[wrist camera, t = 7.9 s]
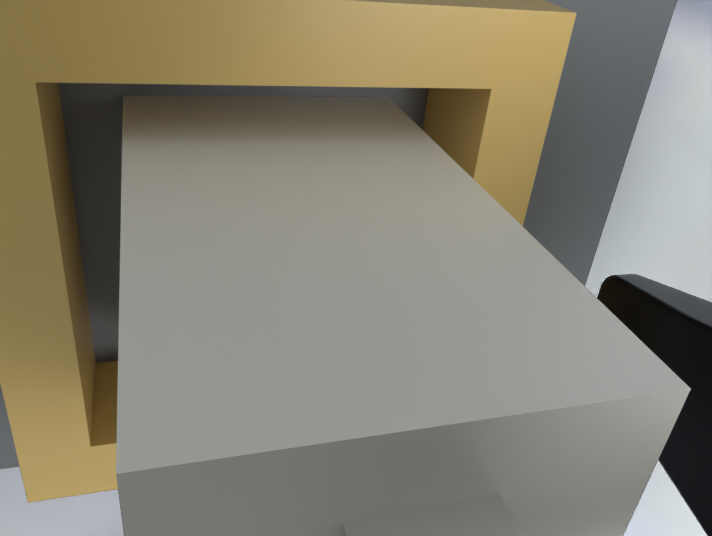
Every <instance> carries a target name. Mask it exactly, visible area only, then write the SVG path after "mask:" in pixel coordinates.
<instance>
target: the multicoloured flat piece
mask: <svg viewBox="0 0 712 536" xmlns="http://www.w3.org/2000/svg"><path fill="white" fill-rule="evenodd" d="M676 3H677V0H0V469H4V468H11V467H19V466H20V470H21V474H22V478H23V483H24V487H25V491H26V496H27V500H28V503H29V502H35V501H42V500H48V499H55V498H62V497H68V496H75V495H81V494H88V493H95V492H101V491H108V490H114V489H118V485H117V478H116V445H117V391H118V338H119V284H120V230H121V176H122V122H123V96H280V97H389V98H390V99H391V100H392V101H393V102H394V103H395V104H396V105H397V106H398V107H399V108H400V109H401V110H402V111H403V112H404V113H405V114H406V115H407V116H408V117H409V118H411V119H412V120H413V121H414V122H415V123H416V124H417V125H418V126H419V127H420V128H421V129H422V130H423V131H424V132H425V133H426V134H427V135H428V136H429V137H430V138H431V139H432V140H433V141H434V142H435V143H436V144H438V145H439V146H440V147H441V148H442V149H443V150H444V151H445V152H446V153H447V154H448V155H449V156H450V157H451V158H452V159H453V160H454V161H455V162H456V163H457V164H458V165H459V166H460V167H461V168H462V169H463V170H464V171H466V172H467V173H468V174H469V175H470V176H471V177H472V178H473V179H474V180H475V181H476V182H477V183H478V184H479V185H480V186H481V187H482V188H483V189H484V190H485V191H486V192H487V193H488V194H489V195H490V196H491V197H492V198H494V199H495V200H496V201H497V202H498V203H499V204H500V205H501V206H502V207H503V208H504V209H505V210H506V211H507V212H508V213H509V214H510V215H511V216H512V217H513V218H514V219H515V220H516V221H517V222H518V223H519V224H521V225H522V226H523V227H524V228H525V229H526V230H527V231H528V232H529V233H530V234H531V235H532V236H533V237H534V238H535V239H536V240H537V241H538V242H539V243H540V244H541V245H542V246H543V247H544V248H545V249H546V250H547V251H549V252H550V253H551V254H552V255H553V256H554V257H555V258H556V259H557V260H558V261H559V262H560V263H561V264H562V265H563V266H564V267H565V268H566V269H567V270H568V271H569V272H570V273H571V274H572V275H573V276H574V277H575V278H577V279H578V280H579V281H580V282H581V283H582V284H583V285H584V286H585V284H586V281H587V277H588V274H589V271H590V268H591V265H592V262H593V259H594V256H595V253H596V250H597V247H598V243H599V240H600V237H601V234H602V231H603V228H604V225H605V222H606V219H607V216H608V213H609V210H610V206H611V203H612V200H613V197H614V194H615V191H616V188H617V185H618V182H619V179H620V176H621V172H622V169H623V166H624V163H625V160H626V157H627V154H628V151H629V148H630V145H631V142H632V139H633V135H634V132H635V129H636V126H637V123H638V120H639V117H640V114H641V111H642V108H643V105H644V101H645V98H646V95H647V92H648V89H649V86H650V83H651V80H652V77H653V74H654V71H655V68H656V64H657V61H658V58H659V55H660V52H661V49H662V46H663V43H664V40H665V37H666V34H667V30H668V27H669V24H670V21H671V18H672V15H673V12H674V9H675V6H676Z"/></svg>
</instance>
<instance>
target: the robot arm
mask: <svg viewBox="0 0 712 536" xmlns="http://www.w3.org/2000/svg"><path fill="white" fill-rule="evenodd" d="M597 299H598V300H599V301H600V302H601V303H602V304H604V305H605V306H606V307H607V308H608V309H609V310H610V311H611V312H612V313H613V314H614V315H615V316H616V317H617V318H618V319H619V320H620V321H621V322H622V323H623V324H624V325H625V326H626V327H627V328H628V329H629V330H630V331H632V332H633V333H634V334H635V335H636V336H637V337H638V338H639V339H640V340H641V341H642V342H643V343H644V344H645V345H646V346H647V347H648V348H649V349H650V350H651V351H652V352H653V353H654V354H655V355H656V356H657V357H659V358H660V359H661V360H662V361H663V362H664V363H665V364H666V365H667V366H668V367H669V368H670V369H671V370H672V371H673V372H674V373H675V374H676V375H677V376H678V377H679V378H680V379H681V380H682V381H683V382H684V383H685V384H687V385H688V386H689V387H690V388H691V390H690V392H689V394H688V396H687V398H686V401H685V403H684V405H683V407H682V409H681V411H680V414H679V416H678V418H677V420H676V422H675V424H674V427H673V429H672V431H671V433H670V435H669V437H668V440H667V442H666V444H665V446H664V448H663V450H662V453H661V455H660V457H659V459H658V460H659V462H660V463H661V465H662V466H663V468H664V470H665V471H666V473H667V474H668V476H669V477H670V479H671V480H672V482H673V483H674V485H675V486H676V488H677V490H678V491H679V493H680V494H681V496H682V497H683V499H684V500H685V502H686V503H687V505H688V506H689V508H690V510H691V511H692V513H693V514H694V516H695V517H696V519H697V520H698V522H699V523H700V525H701V526H702V528H703V530H704V531H705V533H706V534H707V536H712V302H709V301H706V300H704V299H701V298H698V297H696V296H693V295H690V294H688V293H685V292H682V291H680V290H677V289H674V288H672V287H669V286H666V285H664V284H661V283H658V282H656V281H653V280H650V279H648V278H645V277H642V276H640V275H636V274H624V275H612V276H610V277H608V278H606V279H605V280H604V282H603V283H602V285H601V288H600V291H599V294H598V297H597Z"/></svg>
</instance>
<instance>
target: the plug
mask: <svg viewBox="0 0 712 536" xmlns="http://www.w3.org/2000/svg"><path fill="white" fill-rule="evenodd" d="M690 390H691V388H690V387H689V386H688V385H687V384H685V383H684V382H683V381H682V380H681V379H680V378H679V377H678V376H677V375H676V374H675V373H674V372H673V371H672V370H671V369H670V368H669V367H668V366H667V365H666V364H665V363H664V362H663V361H662V360H661V359H660V358H659V357H657V356H656V355H655V354H654V353H653V352H652V351H651V350H650V349H649V348H648V347H647V346H646V345H645V344H644V343H643V342H642V341H641V340H640V339H639V338H638V337H637V336H636V335H635V334H634V333H633V332H632V331H630V330H629V329H628V328H627V327H626V326H625V325H624V324H623V323H622V322H621V321H620V320H619V319H618V318H617V317H616V316H615V315H614V314H613V313H612V312H611V311H610V310H609V309H608V308H607V307H606V306H605V305H604V304H602V303H601V302H600V301H599V300H598V299H597V298H596V297H595V296H594V295H593V294H592V293H591V292H590V291H589V290H588V289H587V288H586V287H585V286H584V285H583V284H582V283H581V282H580V281H579V280H578V279H577V278H575V277H574V276H573V275H572V274H571V273H570V272H569V271H568V270H567V269H566V268H565V267H564V266H563V265H562V264H561V263H560V262H559V261H558V260H557V259H556V258H555V257H554V256H553V255H552V254H551V253H550V252H549V251H547V250H546V249H545V248H544V247H543V246H542V245H541V244H540V243H539V242H538V241H537V240H536V239H535V238H534V237H533V236H532V235H531V234H530V233H529V232H528V231H527V230H526V229H525V228H524V227H523V226H522V225H521V224H519V223H518V222H517V221H516V220H515V219H514V218H513V217H512V216H511V215H510V214H509V213H508V212H507V211H506V210H505V209H504V208H503V207H502V206H501V205H500V204H499V203H498V202H497V201H496V200H495V199H494V198H492V197H491V196H490V195H489V194H488V193H487V192H486V191H485V190H484V189H483V188H482V187H481V186H480V185H479V184H478V183H477V182H476V181H475V180H474V179H473V178H472V177H471V176H470V175H469V174H468V173H467V172H466V171H464V170H463V169H462V168H461V167H460V166H459V165H458V164H457V163H456V162H455V161H454V160H453V159H452V158H451V157H450V156H449V155H448V154H447V153H446V152H445V151H444V150H443V149H442V148H441V147H440V146H439V145H438V144H436V143H435V142H434V141H433V140H432V139H431V138H430V137H429V136H428V135H427V134H426V133H425V132H424V131H423V130H422V129H421V128H420V127H419V126H418V125H417V124H416V123H415V122H414V121H413V120H412V119H411V118H409V117H408V116H407V115H406V114H405V113H404V112H403V111H402V110H401V109H400V108H399V107H398V106H397V105H396V104H395V103H394V102H393V101H392V100H391V99H390V98H389V97H280V96H123V122H122V176H121V230H120V284H119V338H118V391H117V445H116V478H117V485H118V493H119V500H120V508H121V515H122V523H123V530H124V536H623V535H624V533H625V531H626V528H627V526H628V524H629V522H630V520H631V518H632V515H633V513H634V511H635V509H636V507H637V505H638V502H639V500H640V498H641V496H642V494H643V492H644V489H645V487H646V485H647V483H648V481H649V479H650V476H651V474H652V472H653V470H654V468H655V466H656V463H657V461H658V459H659V457H660V455H661V453H662V450H663V448H664V446H665V444H666V442H667V440H668V437H669V435H670V433H671V431H672V429H673V427H674V424H675V422H676V420H677V418H678V416H679V414H680V411H681V409H682V407H683V405H684V403H685V401H686V398H687V396H688V394H689V392H690Z"/></svg>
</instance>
